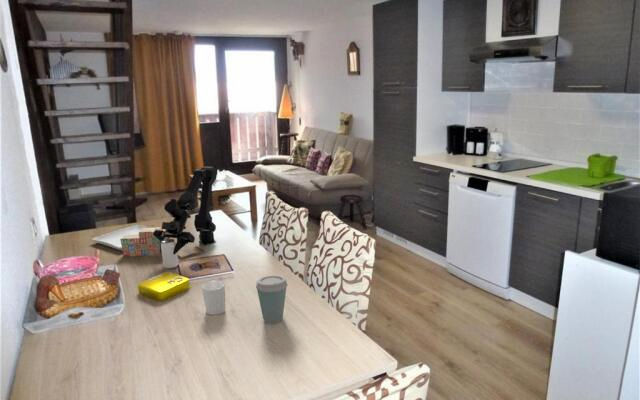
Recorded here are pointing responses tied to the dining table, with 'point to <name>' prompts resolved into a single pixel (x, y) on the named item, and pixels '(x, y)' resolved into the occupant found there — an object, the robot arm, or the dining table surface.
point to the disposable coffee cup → (272, 297)
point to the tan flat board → (190, 252)
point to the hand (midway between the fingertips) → (167, 253)
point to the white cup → (214, 297)
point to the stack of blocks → (142, 243)
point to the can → (169, 253)
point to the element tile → (163, 286)
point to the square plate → (117, 236)
